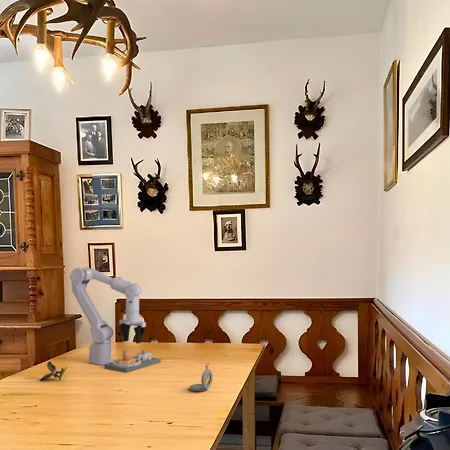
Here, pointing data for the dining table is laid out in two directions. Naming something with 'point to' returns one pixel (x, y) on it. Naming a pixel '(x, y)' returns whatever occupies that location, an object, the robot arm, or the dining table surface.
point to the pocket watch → (203, 381)
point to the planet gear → (126, 358)
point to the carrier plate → (141, 361)
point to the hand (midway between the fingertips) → (132, 342)
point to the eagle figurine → (53, 371)
